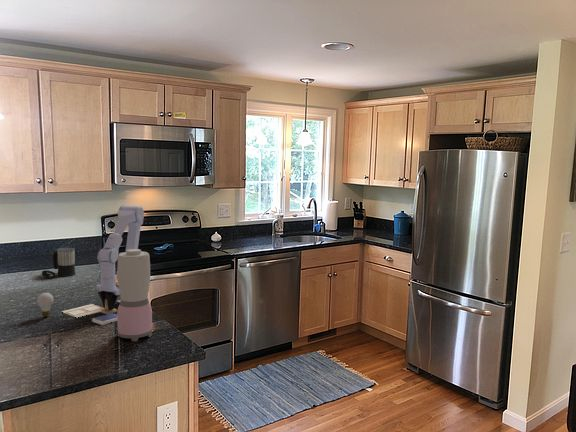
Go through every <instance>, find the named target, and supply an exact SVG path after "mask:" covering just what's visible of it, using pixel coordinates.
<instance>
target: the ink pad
mask: <svg viewBox="0 0 576 432" xmlns="http://www.w3.org/2000/svg"><path fill="white" fill-rule="evenodd" d="M91 322H93V323H95V324H98V325H100V326H104V325H107V324H112V323H115V322H117V313H114V314H113V313H110V314H107V315H105V314H102V315H99V316H96V317H93V318H91ZM111 322H112V323H111Z"/></svg>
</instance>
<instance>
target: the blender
mask: <svg viewBox="0 0 576 432" xmlns="http://www.w3.org/2000/svg"><path fill="white" fill-rule="evenodd" d="M150 258H151V257H150V253H149V252H147V251H142V249H139V248H138V249H129V250H126V249H125V252H123V251H122V252H120V253H118V259H117V269H116V270H117V271H116V273H117V272H118V280H117V285H118V286H117V287H118V289H119V292H120V300H121V302H120V303H119V305H118V307H117V313H116V315H117V321H116V323H117V336H119V337H120V338H122V339H131V342H132V341H134V342H138V341H139V338H144V337H147V338H150V337H152V335H153V311H152V310H153V309H152V305H151V303H150V301H149V291H150V283H151V262H150V260H151V259H150Z"/></svg>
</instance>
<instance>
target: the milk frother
mask: <svg viewBox="0 0 576 432" xmlns="http://www.w3.org/2000/svg"><path fill="white" fill-rule="evenodd" d="M75 251H76V248H73V247H61V248H57V249H56V250H54V252H53V253H52V263H53V265H52V266H53V269H54V270H57V273H56V272H54V271H51V270H47V269H45V270H43V271H41V275H42V277H45V278H46V279H54V278H56V275H57V277H73V276H75V275H76V267H75V265H76V263H75V262H76V261H75V259H76V258H75V257H76V256H75V255H76V254H75V253H76V252H75Z"/></svg>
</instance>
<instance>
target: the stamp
mask: <svg viewBox="0 0 576 432" xmlns="http://www.w3.org/2000/svg"><path fill="white" fill-rule="evenodd" d="M117 310H118V308H114V309H112V310H109V309H108V302H107V299H105V309H102V310H101V312H100V314H102V315H107V314H110V313H114V314H117Z"/></svg>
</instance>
